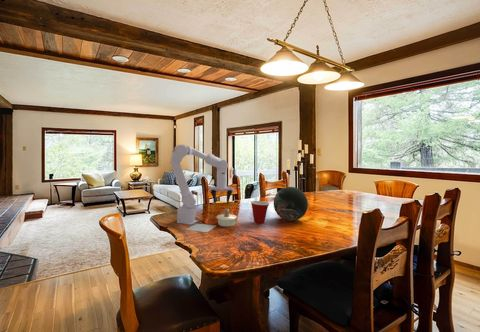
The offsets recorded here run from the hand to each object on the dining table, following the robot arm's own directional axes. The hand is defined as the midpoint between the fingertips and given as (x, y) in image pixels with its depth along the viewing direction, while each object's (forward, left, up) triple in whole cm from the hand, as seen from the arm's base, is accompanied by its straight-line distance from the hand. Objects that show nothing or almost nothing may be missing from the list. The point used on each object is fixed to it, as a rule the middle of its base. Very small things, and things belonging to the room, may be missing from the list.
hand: (221, 202), depth 157 cm
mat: (-3, -21, -10) cm, 23 cm away
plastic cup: (+23, +1, -10) cm, 25 cm away
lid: (+7, -10, -6) cm, 14 cm away
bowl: (+7, -10, -10) cm, 16 cm away
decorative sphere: (+39, +12, -10) cm, 42 cm away
